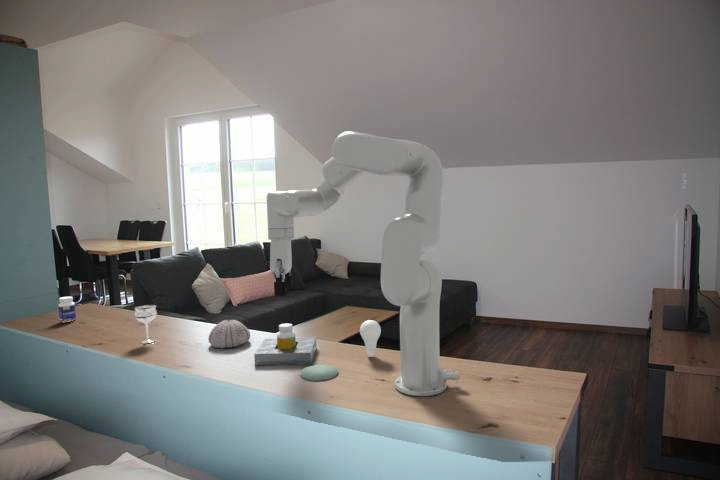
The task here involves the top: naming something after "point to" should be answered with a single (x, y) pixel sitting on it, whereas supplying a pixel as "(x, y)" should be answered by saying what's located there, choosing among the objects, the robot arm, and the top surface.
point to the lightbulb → (370, 335)
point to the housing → (285, 353)
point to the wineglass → (146, 316)
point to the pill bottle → (66, 309)
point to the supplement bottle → (286, 337)
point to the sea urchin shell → (229, 334)
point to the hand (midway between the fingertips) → (283, 291)
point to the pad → (319, 372)
